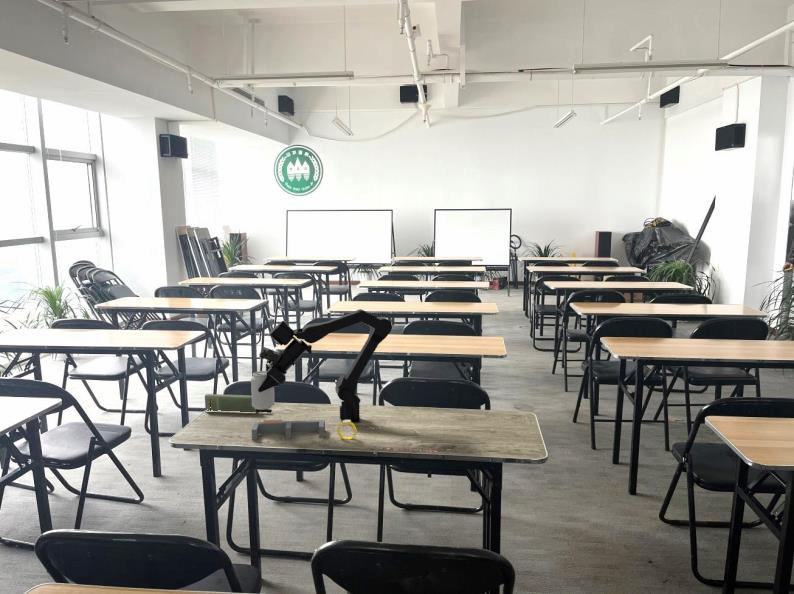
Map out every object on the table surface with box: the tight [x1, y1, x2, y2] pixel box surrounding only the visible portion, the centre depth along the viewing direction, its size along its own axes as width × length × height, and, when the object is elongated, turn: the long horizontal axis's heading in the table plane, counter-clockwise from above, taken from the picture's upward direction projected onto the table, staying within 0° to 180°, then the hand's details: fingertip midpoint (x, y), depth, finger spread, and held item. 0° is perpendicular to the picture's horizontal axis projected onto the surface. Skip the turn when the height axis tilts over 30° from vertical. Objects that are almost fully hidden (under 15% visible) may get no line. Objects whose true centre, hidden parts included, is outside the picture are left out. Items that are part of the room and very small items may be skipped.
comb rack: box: [251, 419, 326, 441], centre depth 188 cm, size 23×7×4 cm, turn 97°
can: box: [250, 370, 276, 410], centre depth 196 cm, size 8×8×12 cm
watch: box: [337, 420, 357, 440], centre depth 185 cm, size 6×3×6 cm, turn 77°
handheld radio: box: [204, 393, 273, 414], centre depth 212 cm, size 7×3×25 cm
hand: (258, 388), depth 195 cm, fingers closed on can, 7 cm apart
